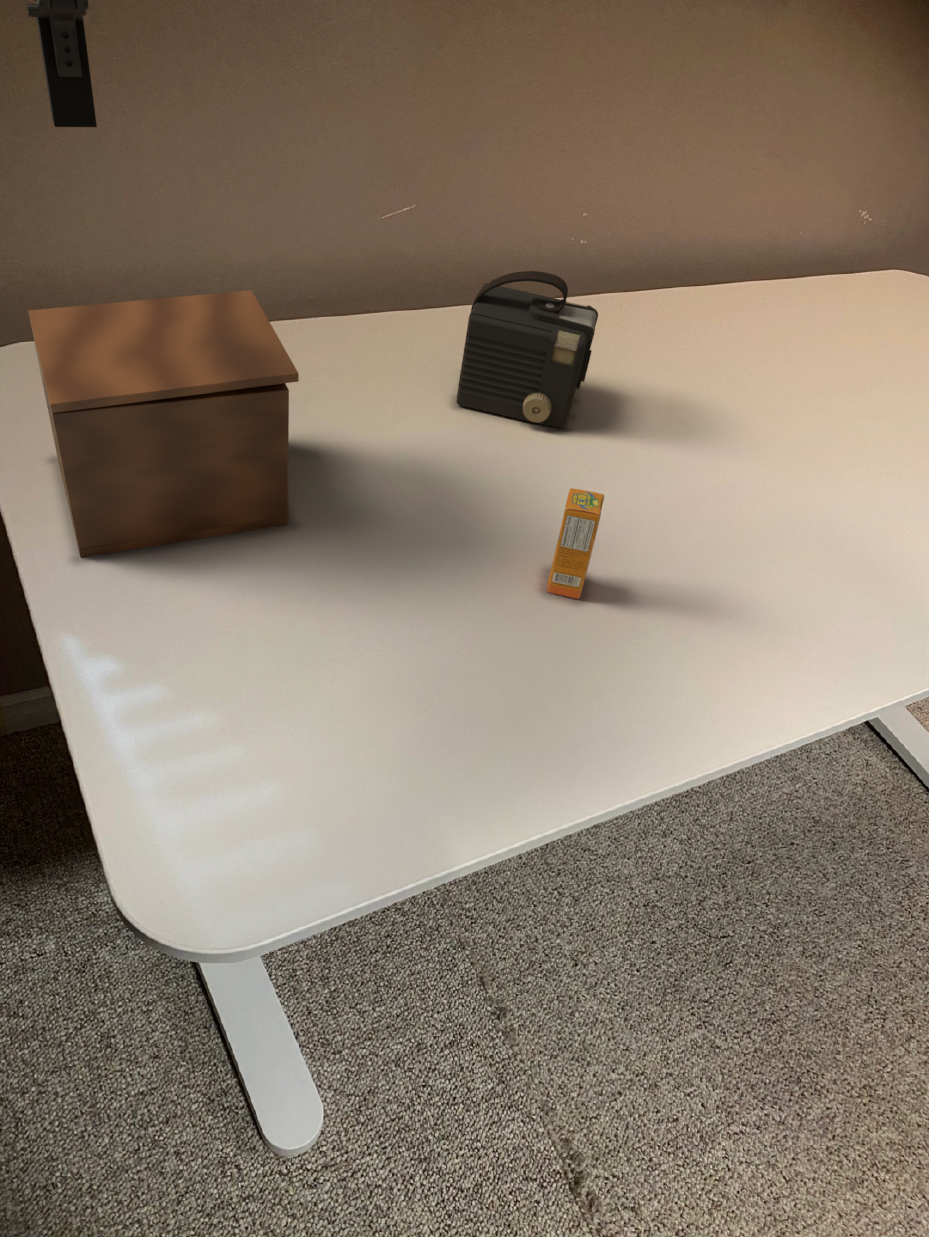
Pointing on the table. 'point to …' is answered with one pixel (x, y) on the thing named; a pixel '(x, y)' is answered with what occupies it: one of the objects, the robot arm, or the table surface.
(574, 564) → the supplement box
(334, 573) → the table surface
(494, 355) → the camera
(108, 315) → the lid
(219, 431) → the chest
